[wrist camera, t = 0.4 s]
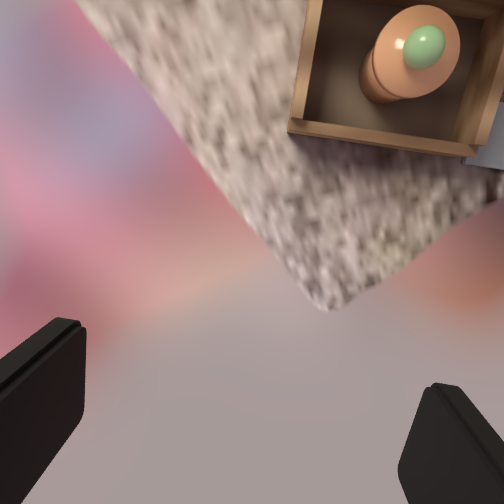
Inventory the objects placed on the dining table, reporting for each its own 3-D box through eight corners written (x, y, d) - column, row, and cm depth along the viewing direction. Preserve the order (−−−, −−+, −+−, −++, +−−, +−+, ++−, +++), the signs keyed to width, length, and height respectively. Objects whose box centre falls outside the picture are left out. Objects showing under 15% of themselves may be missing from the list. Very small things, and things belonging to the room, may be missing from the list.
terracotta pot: (362, 32, 32) (398, -18, 23) (428, 42, 32) (492, -5, 23) (347, 103, 34) (376, 84, 25) (410, 113, 34) (463, 96, 24)
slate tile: (480, 100, 34) (484, 99, 33) (542, 109, 33) (547, 108, 33) (461, 163, 35) (464, 163, 35) (520, 172, 35) (524, 172, 34)
